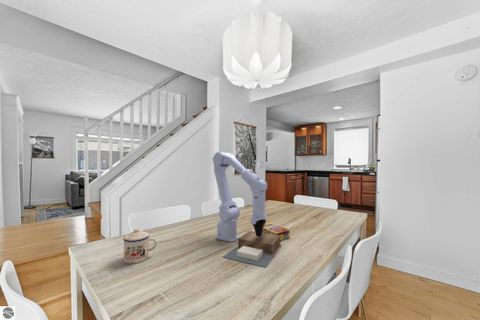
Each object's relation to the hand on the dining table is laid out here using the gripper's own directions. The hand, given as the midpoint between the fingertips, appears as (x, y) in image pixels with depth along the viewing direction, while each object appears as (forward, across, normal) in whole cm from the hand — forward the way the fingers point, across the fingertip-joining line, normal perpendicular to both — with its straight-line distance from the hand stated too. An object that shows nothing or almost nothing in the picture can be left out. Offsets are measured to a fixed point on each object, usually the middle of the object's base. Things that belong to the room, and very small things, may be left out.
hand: (258, 236), depth 93 cm
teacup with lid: (+5, -32, +38) cm, 50 cm away
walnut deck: (+5, +1, 0) cm, 5 cm away
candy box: (+3, +14, -8) cm, 16 cm away
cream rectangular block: (+3, -10, 0) cm, 11 cm away
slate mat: (+5, -11, 0) cm, 12 cm away
